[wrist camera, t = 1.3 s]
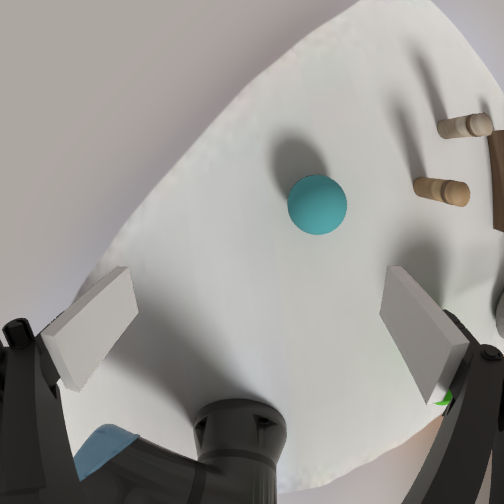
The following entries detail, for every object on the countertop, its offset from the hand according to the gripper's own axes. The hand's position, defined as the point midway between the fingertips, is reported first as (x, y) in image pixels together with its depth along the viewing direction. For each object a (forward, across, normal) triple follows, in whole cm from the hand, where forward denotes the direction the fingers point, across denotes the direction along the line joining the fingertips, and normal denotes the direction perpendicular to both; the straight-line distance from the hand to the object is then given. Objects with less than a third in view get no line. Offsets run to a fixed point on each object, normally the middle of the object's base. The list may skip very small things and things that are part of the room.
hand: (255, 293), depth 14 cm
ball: (+16, -5, -1) cm, 17 cm away
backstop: (+20, -33, -6) cm, 39 cm away
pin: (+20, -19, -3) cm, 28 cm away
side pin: (+20, -23, -11) cm, 32 cm away
